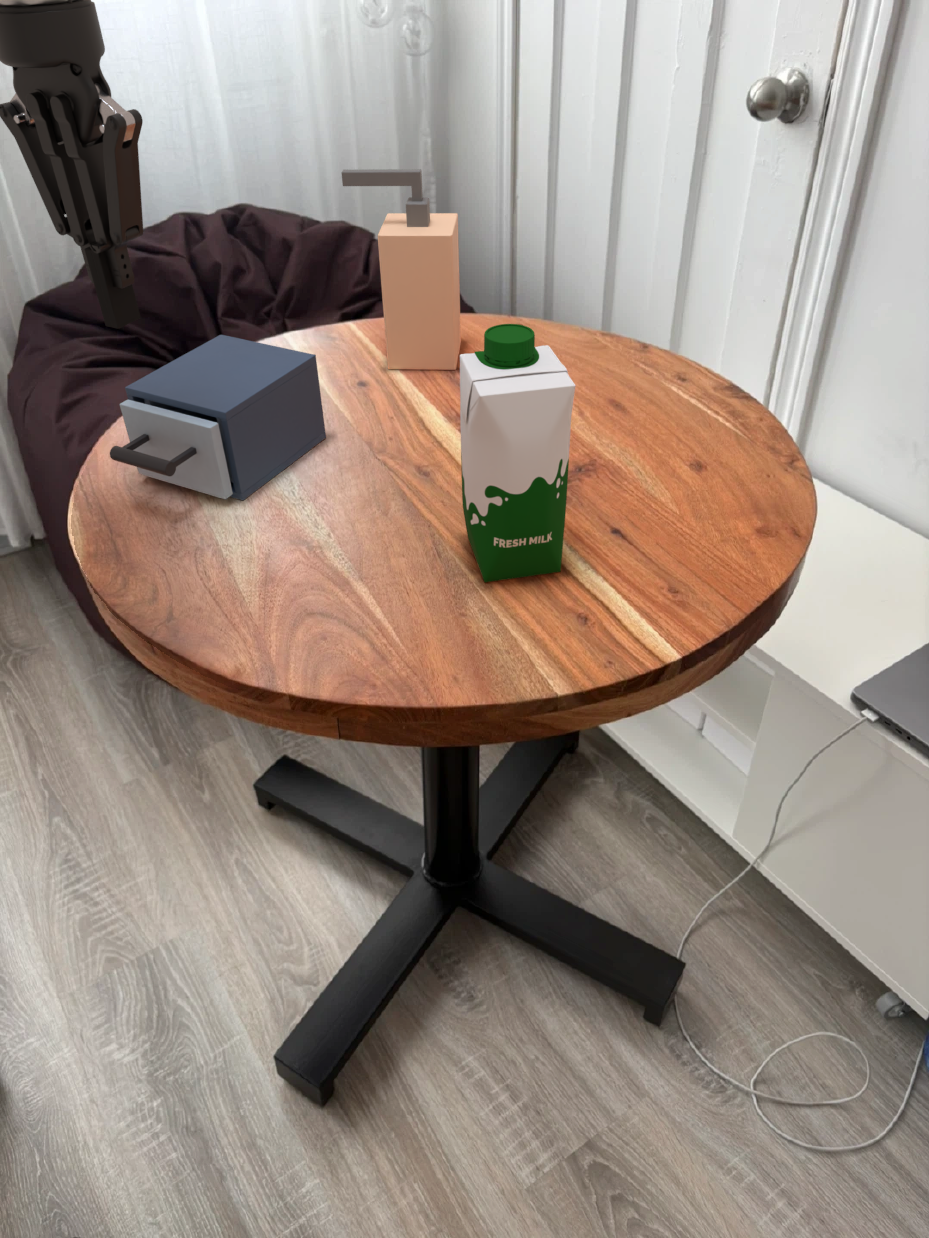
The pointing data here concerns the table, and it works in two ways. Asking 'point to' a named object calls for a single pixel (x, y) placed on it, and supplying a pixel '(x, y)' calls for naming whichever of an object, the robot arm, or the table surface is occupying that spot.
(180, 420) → the drawer
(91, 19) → the robot arm
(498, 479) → the milk carton
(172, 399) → the blue drawer cabinet
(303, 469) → the table surface
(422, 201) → the soap dispenser
